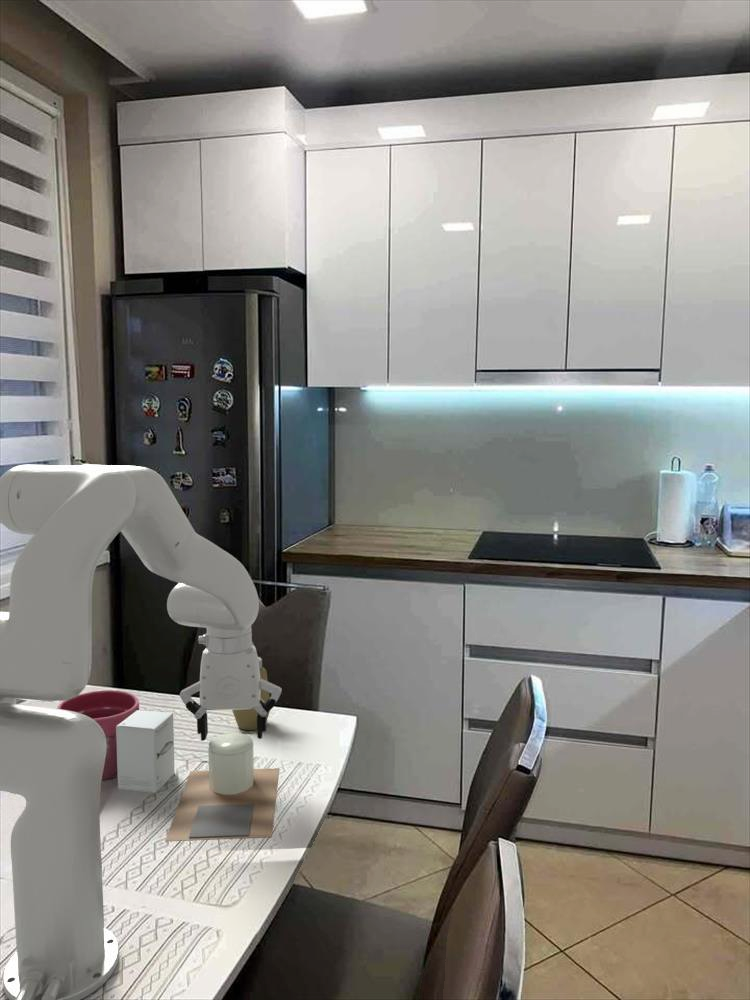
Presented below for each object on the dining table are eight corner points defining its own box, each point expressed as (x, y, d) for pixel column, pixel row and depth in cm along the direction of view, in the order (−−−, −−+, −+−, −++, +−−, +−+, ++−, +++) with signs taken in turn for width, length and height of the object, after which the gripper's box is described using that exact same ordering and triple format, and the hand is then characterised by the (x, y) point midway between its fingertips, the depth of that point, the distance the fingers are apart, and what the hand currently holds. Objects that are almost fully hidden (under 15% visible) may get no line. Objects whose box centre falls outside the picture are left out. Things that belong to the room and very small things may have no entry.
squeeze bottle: (225, 730, 153) (223, 646, 151) (243, 715, 161) (241, 635, 159) (260, 735, 151) (259, 650, 149) (277, 720, 158) (276, 638, 156)
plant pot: (156, 759, 140) (154, 694, 139) (106, 795, 127) (103, 724, 125) (95, 747, 145) (93, 685, 143) (41, 780, 132) (37, 712, 130)
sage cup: (251, 793, 125) (250, 751, 124) (206, 795, 125) (205, 752, 124) (255, 772, 133) (254, 732, 132) (213, 773, 132) (212, 733, 131)
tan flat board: (271, 844, 113) (271, 835, 112) (165, 848, 111) (164, 839, 111) (279, 774, 134) (279, 767, 134) (190, 777, 133) (190, 770, 133)
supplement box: (156, 800, 125) (154, 729, 124) (116, 795, 127) (114, 725, 125) (176, 779, 133) (174, 712, 131) (138, 775, 134) (136, 708, 133)
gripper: (173, 650, 122) (177, 748, 124) (279, 647, 123) (281, 744, 125) (182, 635, 129) (185, 728, 131) (281, 633, 130) (283, 725, 133)
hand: (232, 736), depth 128 cm, fingers open, 9 cm apart
